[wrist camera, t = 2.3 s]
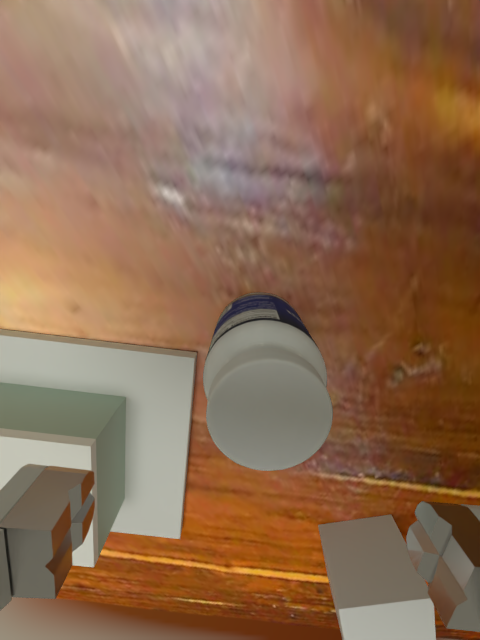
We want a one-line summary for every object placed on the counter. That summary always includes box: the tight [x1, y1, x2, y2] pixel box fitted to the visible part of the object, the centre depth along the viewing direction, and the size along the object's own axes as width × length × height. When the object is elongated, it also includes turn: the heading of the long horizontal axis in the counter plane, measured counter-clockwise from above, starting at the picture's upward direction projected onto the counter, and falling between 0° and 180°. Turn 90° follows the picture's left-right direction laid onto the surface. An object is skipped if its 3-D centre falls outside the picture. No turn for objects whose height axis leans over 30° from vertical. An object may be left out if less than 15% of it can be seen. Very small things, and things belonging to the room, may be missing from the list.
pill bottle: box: [203, 293, 333, 471], centre depth 16 cm, size 6×6×10 cm
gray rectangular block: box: [318, 514, 436, 640], centre depth 23 cm, size 6×6×6 cm
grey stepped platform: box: [0, 329, 197, 567], centre depth 20 cm, size 18×16×6 cm
